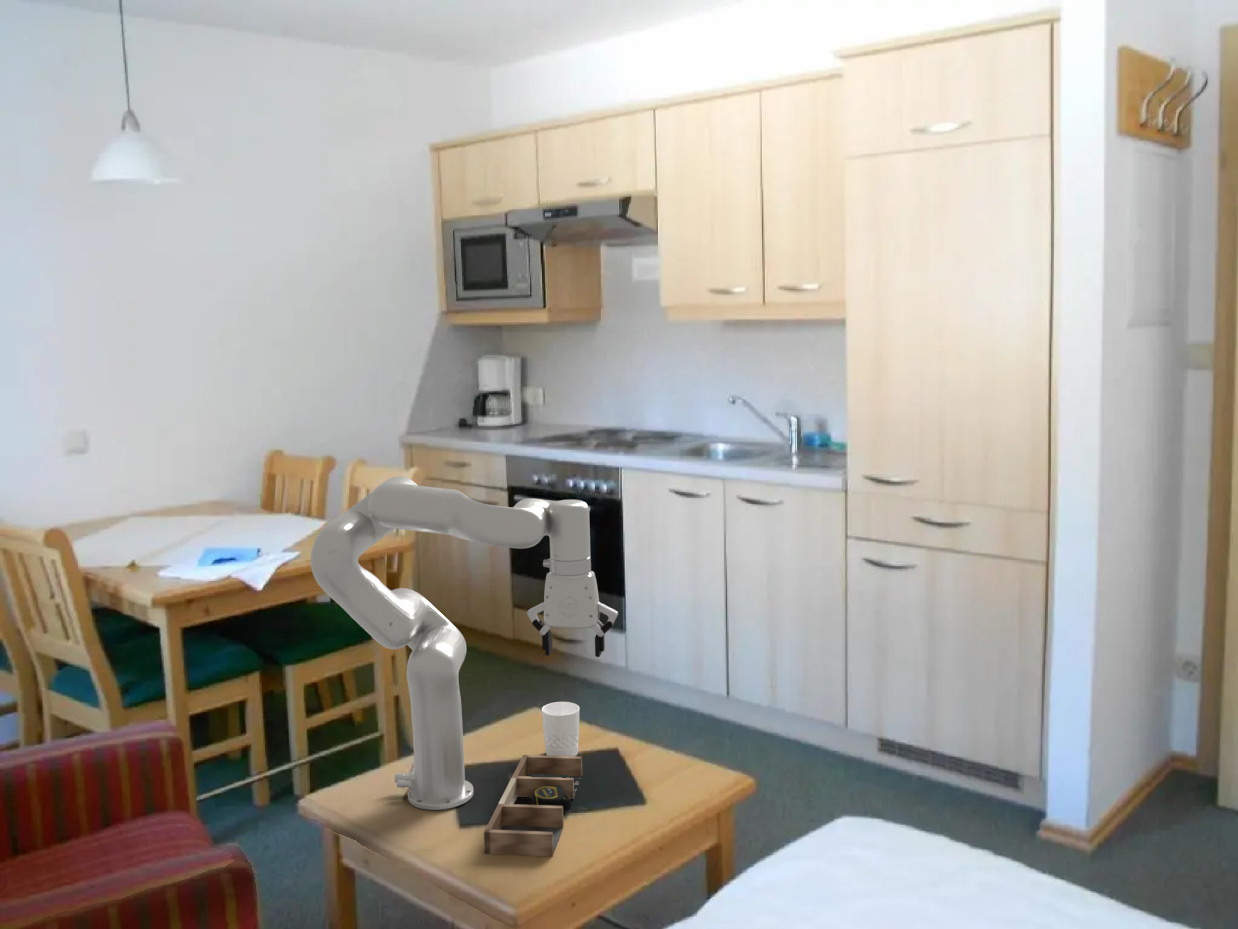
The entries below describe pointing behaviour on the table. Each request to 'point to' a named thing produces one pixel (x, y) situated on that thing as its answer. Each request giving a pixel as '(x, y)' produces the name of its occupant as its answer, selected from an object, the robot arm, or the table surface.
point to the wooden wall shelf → (531, 808)
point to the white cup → (561, 728)
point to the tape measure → (551, 797)
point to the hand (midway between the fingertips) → (573, 654)
